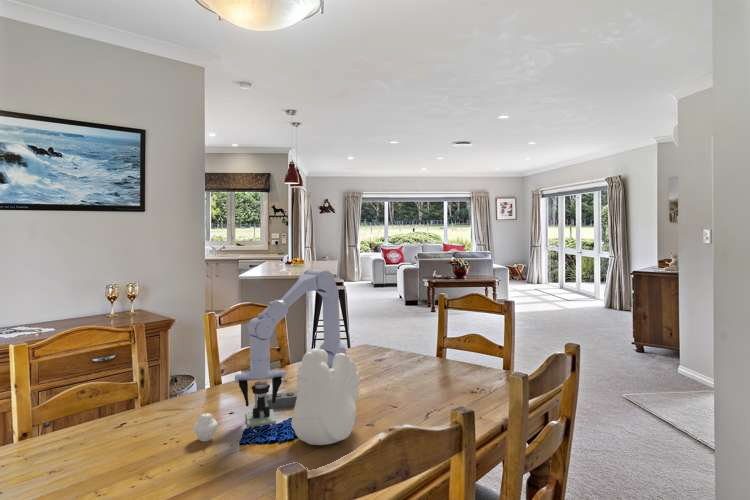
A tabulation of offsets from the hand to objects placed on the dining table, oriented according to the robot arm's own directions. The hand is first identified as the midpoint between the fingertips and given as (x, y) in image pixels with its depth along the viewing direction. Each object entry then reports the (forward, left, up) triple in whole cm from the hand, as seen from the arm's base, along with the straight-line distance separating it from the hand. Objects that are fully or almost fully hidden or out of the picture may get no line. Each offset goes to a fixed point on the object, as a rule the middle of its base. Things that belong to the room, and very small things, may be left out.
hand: (260, 403), depth 139 cm
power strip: (-9, -10, -4) cm, 14 cm away
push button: (+1, 0, -4) cm, 4 cm away
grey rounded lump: (+15, +10, -5) cm, 19 cm away
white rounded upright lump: (-18, +19, -5) cm, 27 cm away
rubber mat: (0, 0, -4) cm, 4 cm away
